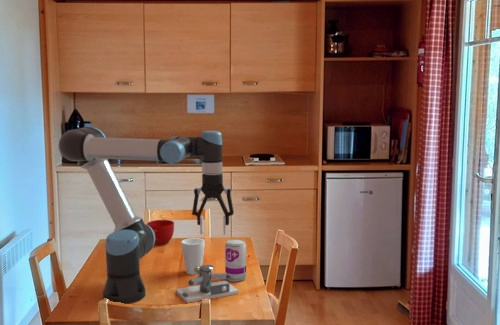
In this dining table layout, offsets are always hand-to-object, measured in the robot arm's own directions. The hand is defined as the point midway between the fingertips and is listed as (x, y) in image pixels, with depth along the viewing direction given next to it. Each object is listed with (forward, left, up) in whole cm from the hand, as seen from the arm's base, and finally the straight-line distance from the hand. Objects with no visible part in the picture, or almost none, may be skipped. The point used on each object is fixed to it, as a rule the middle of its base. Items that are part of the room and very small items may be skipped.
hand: (213, 233), depth 211 cm
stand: (-4, -4, -21) cm, 22 cm away
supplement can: (+12, +5, -21) cm, 25 cm away
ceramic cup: (0, +65, -21) cm, 69 cm away
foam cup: (0, +20, -21) cm, 30 cm away
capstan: (-5, -2, -20) cm, 21 cm away
